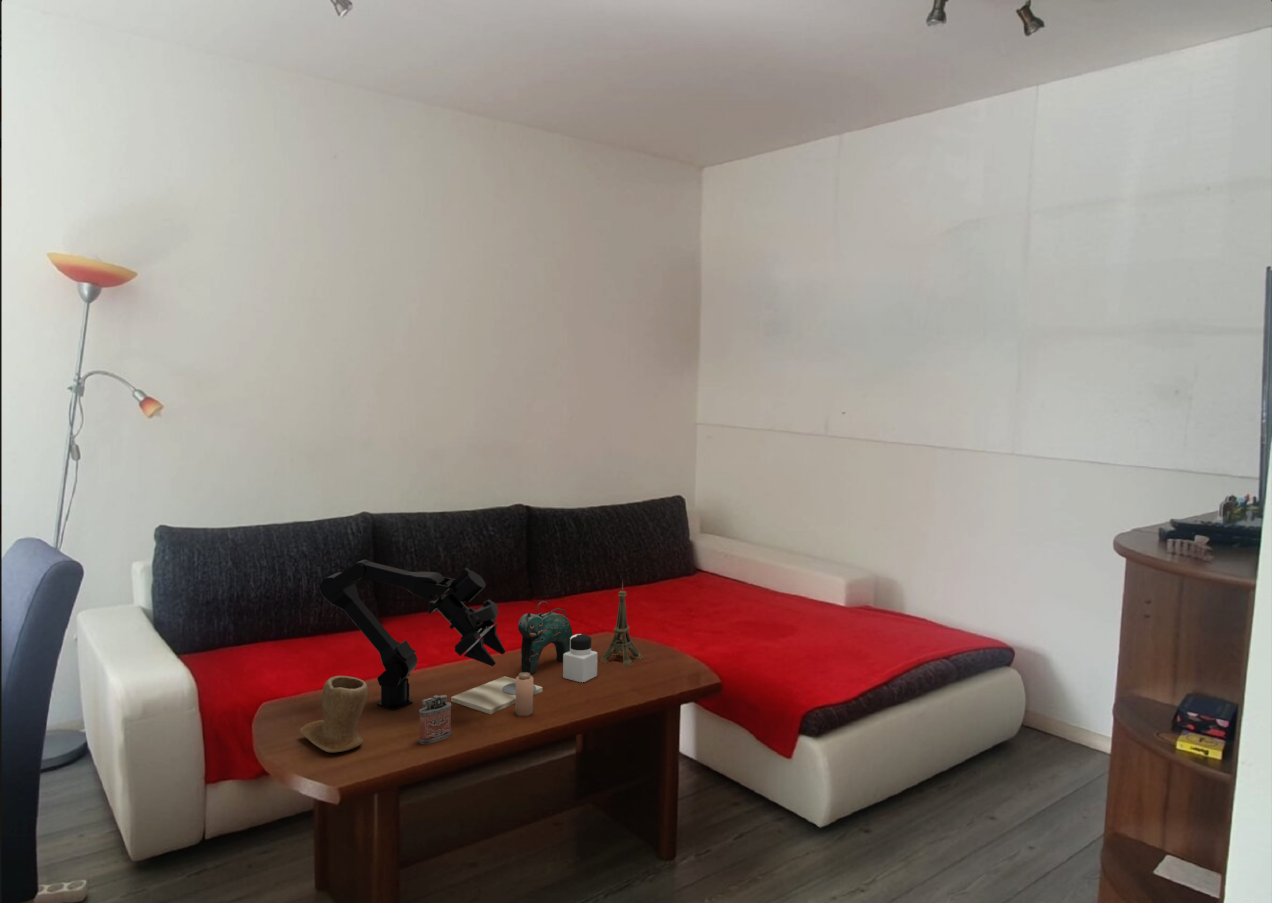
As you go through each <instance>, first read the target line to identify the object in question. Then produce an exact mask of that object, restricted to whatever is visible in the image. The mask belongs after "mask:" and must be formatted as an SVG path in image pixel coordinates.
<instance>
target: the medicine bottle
mask: <svg viewBox="0 0 1272 903" xmlns="http://www.w3.org/2000/svg"><path fill="white" fill-rule="evenodd" d="M597 676H598V652H597V651H595V650H592V637H591V636H590V635H588V634H584V633H576V634H574V635H573V636H571V638H570V651H569V652H567V653H564V654H563V662H562V677H563V679H566V680H571V681H574V682H579V683H581V682H582V683H581V684H583V682H584V683H585V682H588V681H590V680H591V679H594V678H596V677H597Z"/></svg>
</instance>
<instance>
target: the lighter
mask: <svg viewBox="0 0 1272 903" xmlns="http://www.w3.org/2000/svg"><path fill="white" fill-rule="evenodd" d="M447 698H448V696H447V695H446V694H442V695H437V694H435V695H433V696H432V697H430V698H425V699H422V702H421V706H422V708H420V709H418V715H419V737H418V743H419V744H421V745H428V744H432V743H436V742H439V741H442V740H446V739H447V738H450V737H451V736H452V730H451V729H452V728H451V725H452V724H451V719H452V717H451V714H452V713H451V712H452V711H451V710H452V702H448V701H447ZM449 736H450V737H449Z"/></svg>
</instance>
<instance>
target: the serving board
mask: <svg viewBox="0 0 1272 903" xmlns="http://www.w3.org/2000/svg"><path fill="white" fill-rule="evenodd" d="M543 688H544V687H543V686H540V685H536V684H534V683H533V696H535V695H538V694H540V693H543ZM450 701H451V702H450V703H455V704H457V705H460V706H464V707H467V708H469V709H472V710H475V711H476V710H477V711H479V712H483V713H485V714H488V715H492V714H494V713H497V712H498V711H499V712H500V711H501V710H504V709H505V708H508V707H510V706H513V705H514V704H516V678H512V677H510V676H509V677H508V676H505V675H504V676H501V677H499V678H496V679H494V680H491V681H489V682H487V683H486V682H485V683H483V684H481V685H478V686H476V687H473V688H470V689H468V690H466V691H463V692H460V693H458V694H455V695H453V696H451V697H450Z"/></svg>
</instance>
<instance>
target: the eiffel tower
mask: <svg viewBox="0 0 1272 903" xmlns="http://www.w3.org/2000/svg"><path fill="white" fill-rule="evenodd" d="M627 595H628V594H627V591H624V579H622V583H621V590H620V591H619V592H618V594H617V597H619V600H618V609H617V617H616V625H615V627H614V628H613V631H614V635H613V638H612V640H611V641H609V643H610V645H609V646H608V647H607V649H606V650H605V652H603V655H602V656H601V658H600V659H599V660H600V661H604V662H607V661H609V660H610V661H611V658H610V657H611V656H612V655H611V654H616V655H617V654H619V653H620V652H622V664H621V666H622V665H624V666H623V667H626V666H629V667H628V668H630V666H631V667H632V666H634V665H633V664H634V663H633V662H632V659H634V658H638V659H637V660H642V659H643V658H644V657H643V656H644V655H642V654H641V652H640V650H639V649H638V648H637V647H636V646H635V644H634V643H633V640H634V639H631V636H630V631H629V630H630V625H628V619H627V618H628V617H627V607H626V596H627ZM628 650H629V652H630V653H631V655H632V656H631V657H630V655H629V653H628ZM620 654H621V653H620ZM620 654H619V655H620ZM616 655H615V656H616ZM617 656H618V655H617ZM642 657H643V658H642ZM641 658H642V659H641ZM610 661H609V662H610ZM607 663H608V662H607Z"/></svg>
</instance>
